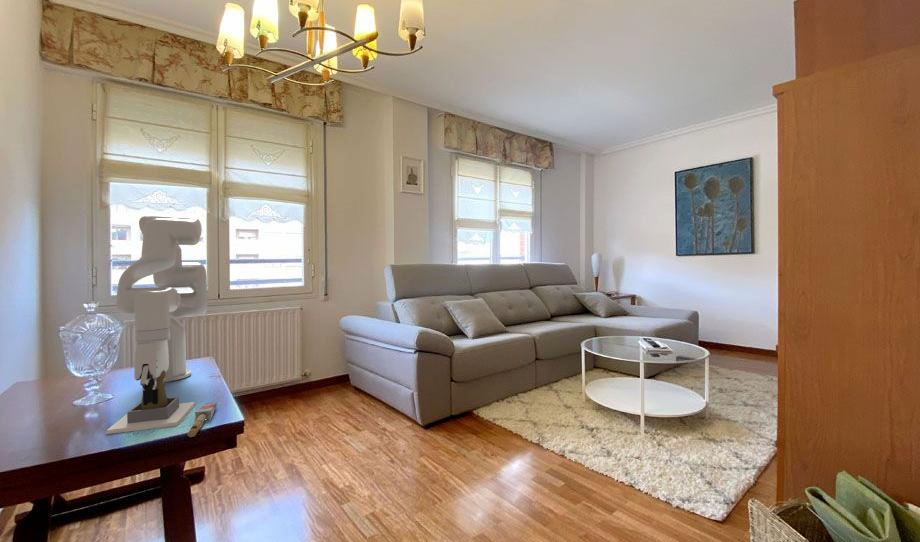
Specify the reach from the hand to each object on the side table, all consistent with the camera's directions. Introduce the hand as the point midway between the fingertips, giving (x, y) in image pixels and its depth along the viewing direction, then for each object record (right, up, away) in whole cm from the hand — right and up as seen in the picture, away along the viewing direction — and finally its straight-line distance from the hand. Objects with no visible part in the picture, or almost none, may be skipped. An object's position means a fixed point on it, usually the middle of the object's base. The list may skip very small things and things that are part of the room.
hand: (154, 400), depth 107 cm
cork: (0, -2, 0) cm, 2 cm away
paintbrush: (+14, -5, -1) cm, 15 cm away
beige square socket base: (0, -5, 0) cm, 5 cm away
